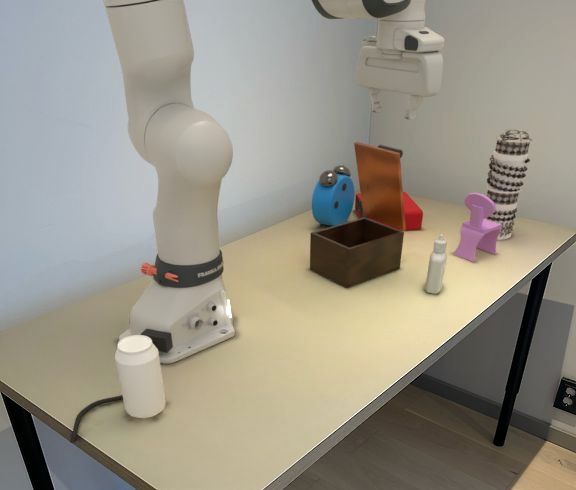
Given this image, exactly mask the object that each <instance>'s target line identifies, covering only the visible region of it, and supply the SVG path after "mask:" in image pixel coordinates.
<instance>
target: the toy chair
mask: <svg viewBox="0 0 576 490" xmlns="http://www.w3.org/2000/svg"><path fill="white" fill-rule="evenodd" d="M464 205H465V206H466V208H467V209H468V210H469V212H470V215H469V216H470V217H469V220H467V221H463V222H462V224H461V227H460V229H459V231H460V239H459V243H458V246H457V247H456V248H455V251H453V253H452V254H453V255H454V256H457V257H458V258H459V257H460V258H463V259H465V260H466V261H469V262H472V263H475V262H476V251H477V249H479V250H482V251H485V252H487V253H490V254H493V255H496V254H497V243H498V242H497V241H498V240H497V238H498V236H499V234H500V232H501V226H502V224H499V223H495V222H491V221H488V220H486V219H485V218H487V217H490V216H491V215H492V214H493V213H494V211H495V208H496V206H495V203H494V202H493V201H492V200H491V199H490V198H488V197H487V195H485V194H482V193H479V192H470V193H468V194H466V196H465V198H464Z"/></svg>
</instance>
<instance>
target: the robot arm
mask: <svg viewBox="0 0 576 490" xmlns="http://www.w3.org/2000/svg"><path fill="white" fill-rule="evenodd" d="M311 2H312V5H313V7H314V8H315V10H316V11H317V13H318V14H319V15H321V16H322V17H323V18H325V19H328V20H342V19H352V20H353V19H354V20H377V31H376V32H377V33H376V35H372V34H368V35H366V36H365V37H364V38H363V40H362V41H361V43H360V51H359V54H358V58H357V63H356V70H355V71H356V72H355V82H356V84H357V86H358V87H364V88H368V89H367V93H368V97H369V101H370V103H371V107H370V108H371V112H372V113H376V114H379V113H382V112H383V102H381V100H380V95H379V94H380V93H381V91H386V92H387V91H388V92H391V93H398V94H404V95H410V97H409V99H410V102H411V103H410V105H409V108H405V110H404V114H405V115H404V119H406V120H410V121H413V120H415V119H416V118H417V112H418V109H419V108H420V106H421V104H422V103H423V101H424V98H430V97H435V96H437V95H438V94H439V92H440V91H441V88H442V82H443V75H444V74H443V73H444V58H443V54H442V53H441V52H440V51H443V50H444V49H445V43H446V42H445V41H446V39H445V37H443V36H442V35H440V34H438V33H437V32H434V31H433V30H432V29H430V28H429V27H427V26H425V25H426V10H425V9H426V0H311ZM103 5H104V9H105V12H106V15H107V19H108V23H109V27H110V30H111V34H112V36H113V42H114V46H115V48H116V49H115V50H116V52H117V56H118V60H119V63H120V69H121V74H122V81H123V89H124V97H125V105H126V111H127V118H128V120H127V132H128V137H129V140H130V141H131V144H132V146H133V148H134V149H135V150H136V152H137V153H138V155H139V156H140V157H141V158H142V160H144V161H145V162H147V163H148V164H149V165H151V166H153V167H154V168H155V171H156V174H157V195H156V196H157V197H156V204H155V206H154V208H153V211H152V220H153V227H154V235H155V244H156V247H157V248H156V249H157V254H156V257H155V262H154V264H150V263H148V262H144V263H142V264H141V266H140V271H141V273H142V274H143V275H146V276H149V277H152V280H151V282H150V283H149V284H148V286H147V287H146V289H145V290H144V292H142V294H141V295H140V297H138V300H137V301H136V302H135V303H134V305H133V306H132V308H131V309H130V313H129V328H128V329H126V330H125V331H123V332H122V333H121V334H119V336H118V342H119V341H120V340H122V339H123V338H125V337H128V336H132V335H144V336H147V337H149V338H150V339H151V340H152V343H153V344H154V345H155V346H156V348H157V349H158V353H159V360H160V364H173V363H176V362H178V361H181V360H183V359H185V358H187V357H190V356H192V355H195V354H197V353H199V352H202V351H203V350H206V349H209V348H210V347H213V346H216V345H217V344H219V343H220V344H221V343H222V342H224V341H226V340H228V339H231V338H233V337H235V336H236V330H235V327H234V316H233V315H232V311H231V304H230V303H231V302H230V299H228V295H227V292H226V288H225V284H224V278H223V273H224V269H225V268H224V264H225V262H224V259H223V252H222V250H221V249H220V236H219V223H218V222H219V219H218V211H219V210H218V207H219V198H220V192H221V186H222V181H223V178H224V177H225V176H226V175H227V174H228V172H229V170H230V168H231V165H232V162H233V157H234V149H233V143H232V140H231V138H230V136H229V134H228V132H227V130H225V128H223V126H222V125H221V124H220V123H219V122H218V121H217V120H216V119H215V118H214V117H213V116H212V115H211V114H209V113H207V112H205V111H203V110H200V109H197V108H196V107H195V105H194V103H193V99H192V87H191V75H192V74H191V71H192V64H193V62H194V59H195V50H194V45H193V40H192V34H191V30H190V25H189V20H188V16H187V11H186V7H185V6H186V5H185V0H103ZM119 401H123V396H122V394H121V395H117V396H111V397H107V398H102V399H99V400H95V401H94V402H91V403H90V404H88V405H87V406H85V407H83V408H82V409H81V410H80V411H79V412H78V414H77V415H76V417H75V419H74V424H73V428H72V433H71V438H70V443H71V444H74V443H76V442H77V438H78V434H79V428H80V426H81V425H80V424H81V422H82V419H83V417H84V416H85V415H86V414H87V413H88V412H90V411H91V410H92V409H94V408H96V407H99V406H101V405H105V404H109V403H114V402H119Z"/></svg>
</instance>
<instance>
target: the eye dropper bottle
mask: <svg viewBox="0 0 576 490" xmlns="http://www.w3.org/2000/svg"><path fill="white" fill-rule="evenodd" d="M447 243H448V242H447V240H445V239H444V234H439V236H438V238H437V239H435V240H434V243H433V248H432V249H433V250H432V251H431V253H430V254H429V261H428V266H427V271H426V281H425V287H424V289H425V292H426V293H428V294H434V295H437V294H439V293H440V292H441V291H442V290H443V289H442V288H443V284H444V277H445V272H446V271H445V270H446V265H447V259H448V258H447V257H448V255H447V252H446V248H447Z"/></svg>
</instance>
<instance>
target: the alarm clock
mask: <svg viewBox="0 0 576 490" xmlns="http://www.w3.org/2000/svg"><path fill="white" fill-rule="evenodd" d="M351 175H352V174H351V170H350V169H349V167H347V166H346V165H345V164H338V165H336V166H335V167H334V168H333V169H327V170H324V171H323V172H321V173H320V175H319V177H318V180H317V182H316V184H315V186H314V189H313V193H312V198H311V213H312V217H313V219H314V220H315V221H316V222H317V223H318V227H319V228H321V226H322V225H325V226H329V227H332V226H336V225H339V224H343V223H346V222H348V219H349V217H350V215H351V213H352V211H353V207H354V204H355V196H356V193H355V192H356V191H355V185H354V182H353V180H352V178H351Z"/></svg>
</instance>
